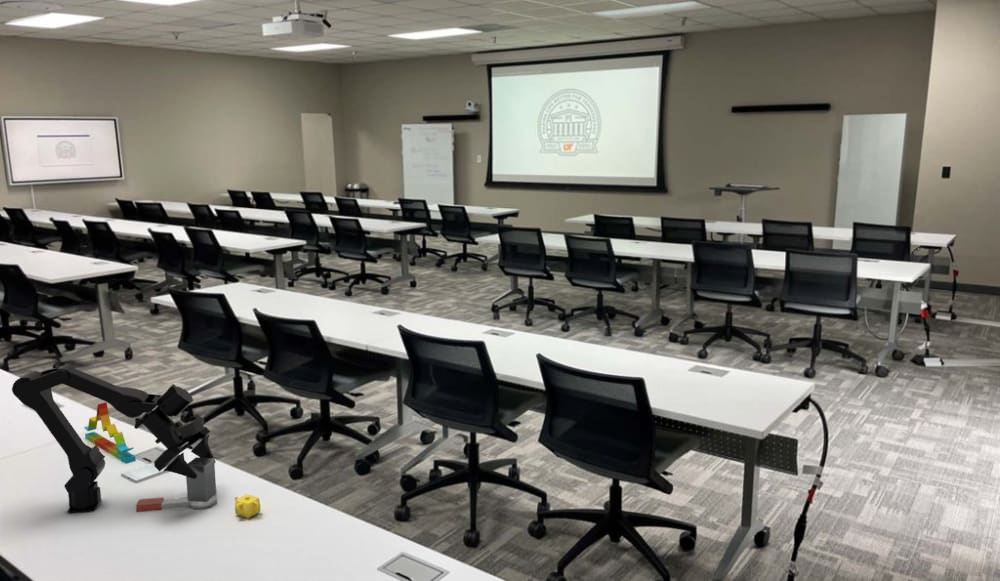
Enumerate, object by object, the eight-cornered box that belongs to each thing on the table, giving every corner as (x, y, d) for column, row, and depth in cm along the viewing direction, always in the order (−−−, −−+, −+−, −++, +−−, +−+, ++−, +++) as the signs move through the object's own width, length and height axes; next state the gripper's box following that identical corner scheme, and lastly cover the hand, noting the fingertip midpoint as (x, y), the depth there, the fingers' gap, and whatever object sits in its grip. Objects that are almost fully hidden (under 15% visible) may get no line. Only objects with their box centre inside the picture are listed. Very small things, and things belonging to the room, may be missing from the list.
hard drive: (161, 459, 221) (120, 472, 211) (176, 465, 217) (135, 479, 207) (161, 464, 222) (121, 478, 212) (177, 470, 217) (136, 485, 207)
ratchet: (134, 515, 188) (133, 500, 188) (141, 503, 195) (140, 488, 194) (214, 508, 192) (213, 493, 192) (218, 497, 199) (217, 482, 198)
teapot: (225, 516, 188) (224, 498, 187) (242, 507, 193) (242, 489, 192) (248, 524, 185) (247, 504, 184) (265, 514, 190) (264, 495, 189)
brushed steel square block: (187, 500, 192) (185, 465, 191) (198, 492, 198) (195, 457, 196) (206, 502, 192) (204, 466, 190) (216, 493, 197) (214, 458, 195)
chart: (136, 461, 223) (132, 414, 220) (125, 464, 220) (122, 417, 218) (95, 436, 242) (92, 393, 239) (85, 439, 240) (81, 395, 237)
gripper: (162, 421, 182) (206, 465, 182) (201, 398, 200) (241, 438, 201) (135, 449, 184) (178, 493, 185) (176, 423, 203) (216, 463, 203)
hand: (205, 470), depth 193 cm, fingers open, 9 cm apart
